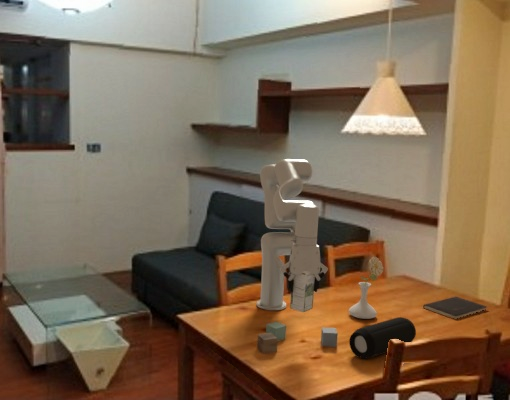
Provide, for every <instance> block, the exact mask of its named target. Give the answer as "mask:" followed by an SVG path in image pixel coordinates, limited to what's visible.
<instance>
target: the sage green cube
mask: <svg viewBox="0 0 510 400" xmlns="http://www.w3.org/2000/svg"><path fill="white" fill-rule="evenodd" d="M265 326H266V327H265V331H266V332H265V333H272V334H273V335H274V336H276V337H277V338H278V339H277V342H279V341H283V340H285V339H286V337H287V336H286V335H287V333H286V332H287V325H286V324H283V323H282V322H279V321H273V322H269V323H266V324H265Z"/></svg>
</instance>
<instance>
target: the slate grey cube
mask: <svg viewBox="0 0 510 400" xmlns="http://www.w3.org/2000/svg"><path fill="white" fill-rule="evenodd" d="M320 342H321V346H322V347H331V348H337V347H338V331H337V328H336V327H321V335H320Z"/></svg>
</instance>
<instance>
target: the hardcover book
mask: <svg viewBox="0 0 510 400" xmlns="http://www.w3.org/2000/svg"><path fill="white" fill-rule="evenodd" d="M422 306H423V308H422V309H425V310H428V311H432V312H434V313H437V314H440V315H443V316H445V317H448V318H451V319H453V318H454V320H458V319H460V317H461V318H464V317H467V316H466V315H468V316H470V315H469V314H471V315H473V313H474V314H477V313H476V312H478V313H480V312H479V311H481V312H483V311H482V310H484V311H486V310H487V309H486V308H488V306H487V305H484V304H480V303H477V302H474V301H471V300H468V299H465V298H462V297H458V296H452V297H449V298H445V299H441V300H436V301H433V302H429V303H428V302H427V303H425V304H423V305H422ZM485 309H486V310H485ZM463 316H464V317H463ZM457 318H458V319H457Z"/></svg>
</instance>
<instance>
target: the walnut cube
mask: <svg viewBox="0 0 510 400" xmlns="http://www.w3.org/2000/svg"><path fill="white" fill-rule="evenodd" d="M277 339H278V338H277V337H276V336H274V335H273V334H272V333H266V332H265V333H259V334H257V344H256V345H257V346H256V349H257V350H258V351H260V352H261V353H262V354H263V355H266V354H272V353H277V352H278V341H277Z"/></svg>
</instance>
